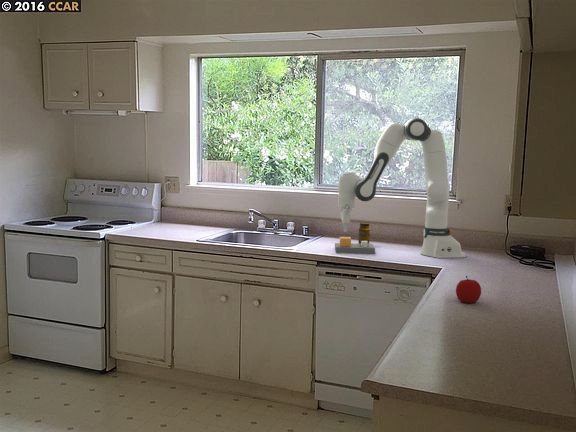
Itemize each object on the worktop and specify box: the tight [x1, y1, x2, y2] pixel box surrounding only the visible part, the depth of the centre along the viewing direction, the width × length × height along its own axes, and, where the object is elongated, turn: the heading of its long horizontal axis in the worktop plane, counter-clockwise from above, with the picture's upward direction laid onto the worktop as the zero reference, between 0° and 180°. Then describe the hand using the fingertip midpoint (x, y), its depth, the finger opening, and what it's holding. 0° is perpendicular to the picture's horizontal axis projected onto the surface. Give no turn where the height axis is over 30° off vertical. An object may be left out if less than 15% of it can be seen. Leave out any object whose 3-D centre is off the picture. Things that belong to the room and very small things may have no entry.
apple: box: [455, 275, 482, 304], centre depth 231 cm, size 9×9×10 cm
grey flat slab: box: [334, 242, 376, 255], centre depth 323 cm, size 20×12×4 cm, turn 88°
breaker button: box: [361, 241, 368, 246], centre depth 323 cm, size 3×3×5 cm
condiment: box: [357, 222, 371, 244], centre depth 341 cm, size 7×8×12 cm
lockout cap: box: [338, 236, 352, 246], centre depth 323 cm, size 6×6×4 cm
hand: (344, 230), depth 322 cm, fingers open, 8 cm apart
